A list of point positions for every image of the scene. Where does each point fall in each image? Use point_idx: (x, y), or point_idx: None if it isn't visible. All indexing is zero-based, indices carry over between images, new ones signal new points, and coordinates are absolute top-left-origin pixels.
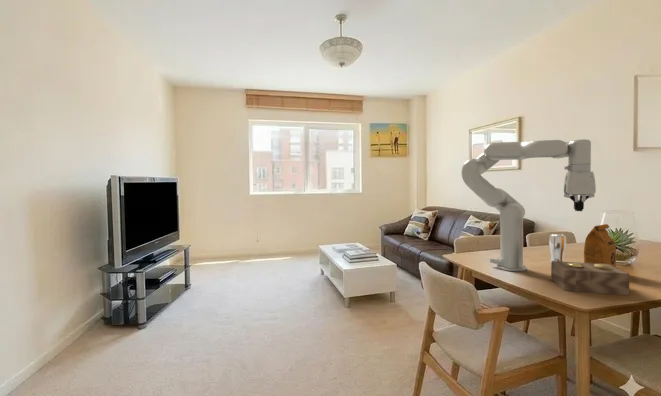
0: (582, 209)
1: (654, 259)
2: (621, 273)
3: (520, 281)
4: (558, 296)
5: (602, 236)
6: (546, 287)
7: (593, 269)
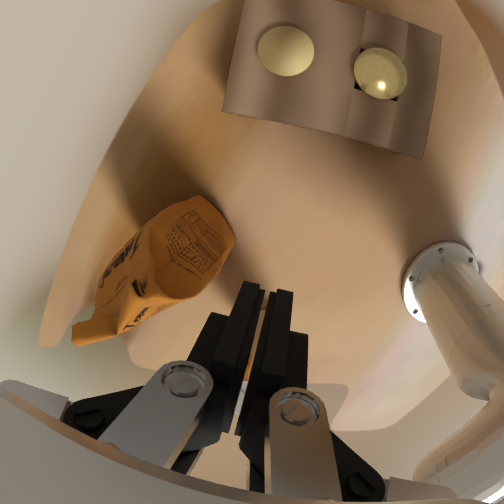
0: (240, 289)
1: (38, 339)
2: None
3: (489, 141)
4: (449, 16)
5: (132, 271)
6: (450, 80)
7: (338, 28)
